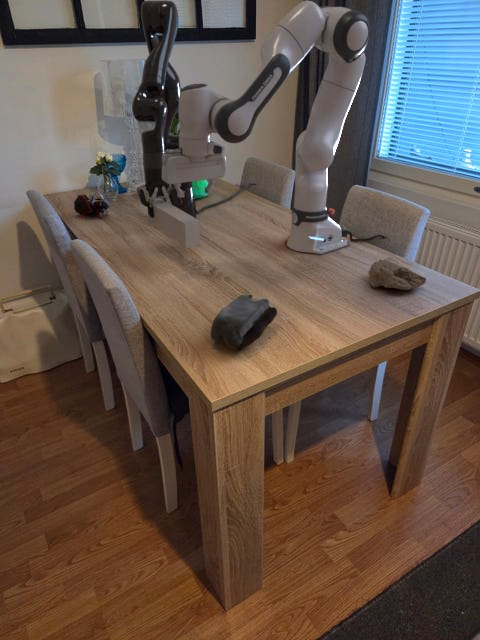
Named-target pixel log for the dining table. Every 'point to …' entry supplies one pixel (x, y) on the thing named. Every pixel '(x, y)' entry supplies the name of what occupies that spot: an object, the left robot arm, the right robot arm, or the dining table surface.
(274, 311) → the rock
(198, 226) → the bar
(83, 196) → the toy
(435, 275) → the dining table surface
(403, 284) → the artifact
